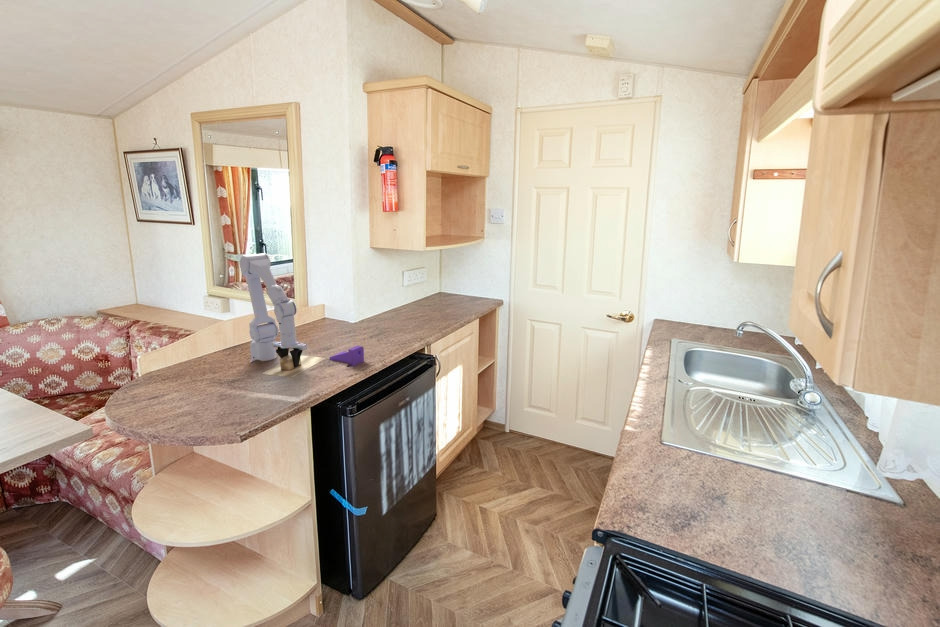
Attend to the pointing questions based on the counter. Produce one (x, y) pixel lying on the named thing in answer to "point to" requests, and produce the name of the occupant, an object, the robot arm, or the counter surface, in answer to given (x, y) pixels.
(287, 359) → the block
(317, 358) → the board
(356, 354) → the bracket
